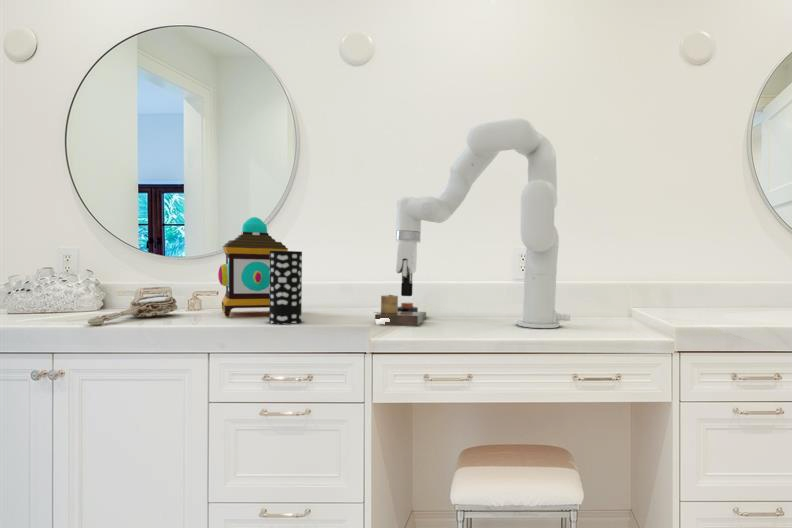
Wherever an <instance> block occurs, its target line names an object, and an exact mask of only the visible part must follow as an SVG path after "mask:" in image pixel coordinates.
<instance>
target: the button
mask: <svg viewBox="0 0 792 528" xmlns="http://www.w3.org/2000/svg"><path fill="white" fill-rule="evenodd" d="M400 306H401V308H413V307H414V303H413V302H401V303H400Z"/></svg>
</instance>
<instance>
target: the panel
mask: <svg viewBox="0 0 792 528" xmlns="http://www.w3.org/2000/svg"><path fill="white" fill-rule="evenodd" d="M423 312H424V311H418V312H401V311H398V313H395V314H385V313H381V311H380V312H379V311H373V313H374V320H375V319H380V318H389V319H390V322H385V325H384V326H396V327H397V326H398V327H400V326H401V327H418V326H420V325H421V324H422V323H423V320H422V316H423Z"/></svg>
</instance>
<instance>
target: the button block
mask: <svg viewBox="0 0 792 528" xmlns="http://www.w3.org/2000/svg"><path fill="white" fill-rule="evenodd" d="M398 311H401V312H419V308H418V306H413V308H401V305H400V306H399V305H398ZM422 312H423V316H422V321H424V320H425V319H426V318H427V311H422Z"/></svg>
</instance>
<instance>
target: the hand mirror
mask: <svg viewBox="0 0 792 528" xmlns="http://www.w3.org/2000/svg"><path fill="white" fill-rule="evenodd" d="M178 306H179V305H178V304H177V300H176V299H175V297H173V296H172V295H170V294H169V295H165V294H155V295H147V296H142V297H137V298H136V299H134V300H132V301H131V302H130V305H129V308H127V309H125V310H121V311H120V312H112V313H109V314H103V315H101V316H99V315H97V316H93V317H91V318H89V319H87V324H88V325H91V326H100V325H103V324H104V323H105V322H110V321H114V320H116V319H118V318H120V317H126V316H133V317H136V318H153V317H157V316H161V315H164V314H168V313H171V312H174V311H176V310H177V309H178V308H179V307H178Z"/></svg>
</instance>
